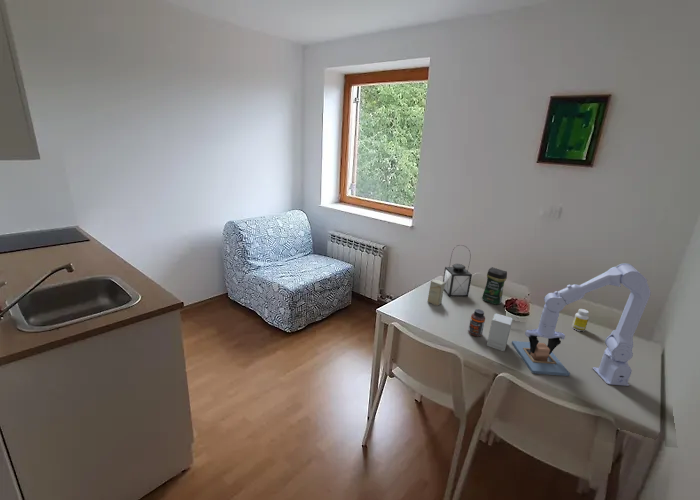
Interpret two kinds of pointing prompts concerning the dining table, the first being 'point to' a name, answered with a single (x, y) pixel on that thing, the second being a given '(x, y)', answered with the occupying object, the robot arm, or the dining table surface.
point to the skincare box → (436, 292)
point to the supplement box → (499, 332)
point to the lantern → (457, 280)
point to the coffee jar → (494, 285)
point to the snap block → (541, 352)
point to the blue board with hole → (540, 366)
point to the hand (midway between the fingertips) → (540, 352)
